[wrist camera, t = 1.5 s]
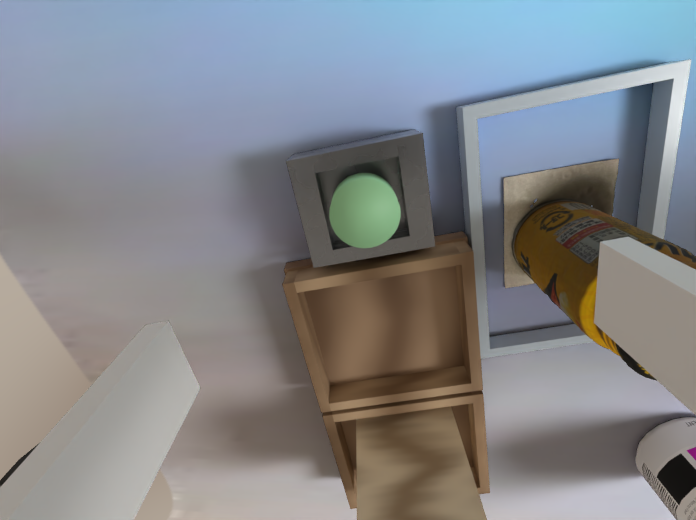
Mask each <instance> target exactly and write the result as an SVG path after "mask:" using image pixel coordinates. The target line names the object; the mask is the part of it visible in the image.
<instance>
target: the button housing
mask: <svg viewBox="0 0 696 520" xmlns="http://www.w3.org/2000/svg"><path fill="white" fill-rule="evenodd" d="M286 164H287V167H288V171H289V175H290V179H291V183H292V187H293V190H294V194H295V198H296V202H297V206H298V210H299V213H300V217H301V221H302V225H303V229H304V233H305V236H306V240H307V244H308V248H309V252H310V256H311V260H312V263H313V267H314V268H316V267H322V266H328V265H333V264H339V263H345V262H350V261H356V260H362V259H367V258H373V257H378V256H384V255H390V254H395V253H401V252H407V251H412V250H418V249H424V248H429V247H435V239H434V230H433V221H432V212H431V203H430V194H429V185H428V176H427V167H426V158H425V149H424V141H423V133H421V132H419V131H417V130H415V129H413V130H408V131H403V132H398V133H394V134H389V135H384V136H379V137H374V138H369V139H365V140H360V141H355V142H350V143H345V144H340V145H336V146H331V147H326V148H321V149H316V150H311V151H307V152H302V153H297V154H293V155H292V156H291V157H290V158H289V159H288V160H287V161H286ZM357 173H372V174H375V175H378V176H380V177H382V178H383V179H385V180H386V181H387V182H388V183H389V184H390V186H391V187H392V189H393V190H394V192H395V195H396V197H397V199H398V202H399V205H400V211H401V216H400V222H399V225H398V227H397V229H396V231H395V233H394V234H393V235H392V236H391V238H389V239H388V240H387V241H386V242H384V243H383V244H381V245H378V246H376V247H372V248H357V247H353V246H351V245H348V244H347V243H345V242H343V241H342V240H341V239H340V238H339V237H338V236H337V235H336V234H335V232H334V230H333V228H332V226H331V223H330V217H329V212H330V206H331V201H332V197H333V194H334V191H335V189H336V188H337V186H338V185H339V184H340V183H341V182H342V181H343V180H344V179H346V178H347V177H349V176H351V175H354V174H357Z"/></svg>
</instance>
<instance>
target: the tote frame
mask: <svg viewBox="0 0 696 520" xmlns="http://www.w3.org/2000/svg"><path fill="white" fill-rule="evenodd" d="M690 65H691V60H682V61H674V62H667V63H663V64H658V65H653V66H648V67H644V68H639V69H634V70H629V71H625V72H620V73H615V74H610V75H606V76H601V77H596V78H591V79H587V80H582V81H577V82H572V83H568V84H563V85H558V86H553V87H548V88H544V89H539V90H534V91H529V92H525V93H520V94H515V95H510V96H506V97H501V98H496V99H491V100H487V101H482V102H477V103H472V104H468V105H463V106H458V107H456V113H457V126H458V139H459V152H460V166H461V179H462V192H463V205H464V218H465V232H466V236H467V238H468V245H469V246H470V248H471V249H472V250H473V253H474V267H475V282H476V297H477V311H478V326H479V341H480V356H481V359H483V358H490V357H497V356H504V355H511V354H517V353H524V352H531V351H538V350H544V349H551V348H558V347H565V346H571V345H578V344H585V343H592V342H594V341H593V340H592V339H590V338H589V337H588V336H587V335H586V334H584V333H583V332H582V330H581V329H580V328H579V327H578V326H577V325H576V324H570V325H564V326H557V327H551V328H544V329H538V330H531V331H524V332H518V333H511V334H505V335H498V336H492V337H489V324H488V306H487V287H486V269H485V251H484V233H483V215H482V197H481V179H480V160H479V142H478V124H477V119H479V118H484V117H489V116H494V115H498V114H503V113H508V112H513V111H518V110H523V109H528V108H532V107H537V106H542V105H547V104H552V103H557V102H561V101H566V100H571V99H576V98H581V97H586V96H591V95H595V94H600V93H605V92H610V91H615V90H620V89H624V88H629V87H634V86H639V85H644V84H649V83H654V84H653V92H652V100H651V109H650V117H649V125H648V134H647V142H646V150H645V159H644V167H643V176H642V184H641V192H640V201H639V209H638V217H637V226H636V227H637V228H639V229H641V230H643V231H646V232H648V233H650V234H652V235H655V236H657V237H659V238H661V239H664V235H665V228H666V222H667V215H668V209H669V202H670V196H671V189H672V182H673V176H674V169H675V163H676V156H677V150H678V143H679V137H680V130H681V124H682V117H683V111H684V104H685V98H686V91H687V85H688V78H689V71H690Z"/></svg>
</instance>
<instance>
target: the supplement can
mask: <svg viewBox="0 0 696 520" xmlns="http://www.w3.org/2000/svg"><path fill="white" fill-rule="evenodd" d="M635 461H636V465H637V469H638V470H639V472H640V473H641V474H642V476H643V477H644V478H645V480H646V481H647V482H648V483H649V485H650V486H651V487H652V489H653V490H654V491H655V493H656V494H657V495H658V496H659V498H660V499H661V500H662V502H663V503H664V504H665V506H666V507H667V508H668V509H669V511H670V512H671V513H672V515H673V516H674V517H675V519H676V520H696V418H694V417H684V418H678V419H672V420H670V421H667V422H665V423H662V424H660V425H658V426H657V427H655V428H654V429H652V430H651V431H649V432H648V433H647V434H646V435H645V436H644V437H643V439H642V440H641V441H640V442H639V445H638V448H637V455H636V458H635Z"/></svg>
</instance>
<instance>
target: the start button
mask: <svg viewBox="0 0 696 520" xmlns="http://www.w3.org/2000/svg"><path fill="white" fill-rule="evenodd" d="M400 216H401V211H400V205H399V202H398V199H397V197H396V195H395V192H394V190H393V189H392V187H391V186H390V184H389V183H388V182H387V181H386V180H385V179H383V178H382V177H380V176H378V175H375V174H372V173H357V174H354V175H351V176H349V177H347V178H346V179H344V180H343V181H342V182H341V183H340V184H339V185H338V186H337V188H336V189H335V191H334V194H333V197H332V201H331V206H330V212H329V217H330V223H331V226H332V228H333V230H334V232H335V234H336V235H337V236H338V237H339V238H340V239H341V240H342V241H343V242H345V243H347V244H348V245H351V246H353V247H357V248H372V247H376V246H378V245H381V244H383V243H384V242H386V241H387V240H388V239H389V238H391V236H392V235H393V234H394V233H395V231H396V229H397V227H398V225H399V222H400Z"/></svg>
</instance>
